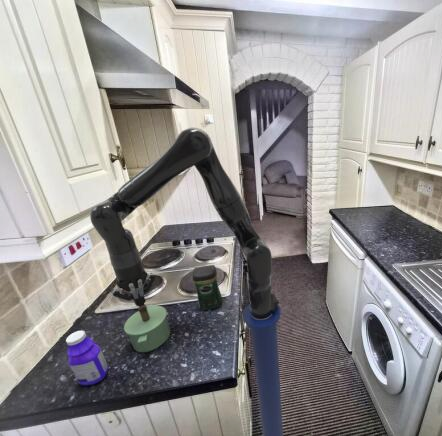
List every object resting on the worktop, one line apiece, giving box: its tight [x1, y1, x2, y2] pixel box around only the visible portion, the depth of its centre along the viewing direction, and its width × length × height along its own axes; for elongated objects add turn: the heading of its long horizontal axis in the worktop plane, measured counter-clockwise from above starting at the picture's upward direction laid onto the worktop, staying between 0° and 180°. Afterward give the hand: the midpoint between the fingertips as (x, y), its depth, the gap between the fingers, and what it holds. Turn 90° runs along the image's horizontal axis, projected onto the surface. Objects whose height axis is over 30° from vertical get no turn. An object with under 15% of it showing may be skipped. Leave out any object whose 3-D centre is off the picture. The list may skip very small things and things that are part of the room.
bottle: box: [65, 330, 109, 386], centre depth 68 cm, size 7×6×17 cm
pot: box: [127, 304, 171, 353], centre depth 83 cm, size 12×17×8 cm
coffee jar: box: [192, 264, 223, 311], centre depth 96 cm, size 10×8×19 cm
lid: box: [123, 304, 168, 336], centre depth 80 cm, size 13×13×7 cm
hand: (141, 304), depth 79 cm, fingers closed
